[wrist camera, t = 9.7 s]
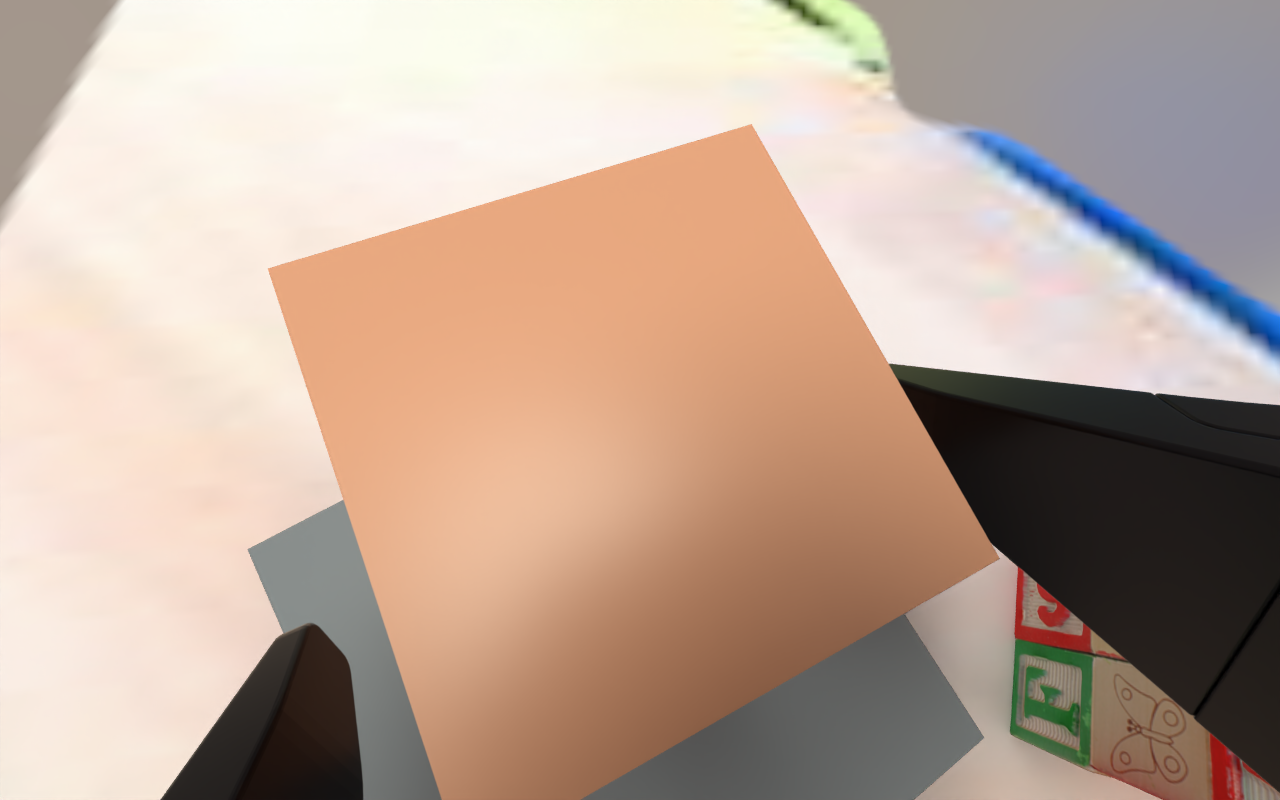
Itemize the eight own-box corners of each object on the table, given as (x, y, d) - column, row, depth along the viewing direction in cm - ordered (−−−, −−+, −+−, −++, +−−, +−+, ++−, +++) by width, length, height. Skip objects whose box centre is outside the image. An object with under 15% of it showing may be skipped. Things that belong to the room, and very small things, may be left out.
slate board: (956, 725, 18) (983, 737, 16) (513, 1106, 14) (508, 1157, 13) (700, 324, 20) (708, 311, 19) (269, 549, 16) (247, 549, 15)
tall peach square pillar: (694, 551, 17) (999, 558, 5) (544, 624, 16) (463, 867, 4) (629, 409, 18) (751, 125, 6) (484, 469, 17) (267, 267, 5)
